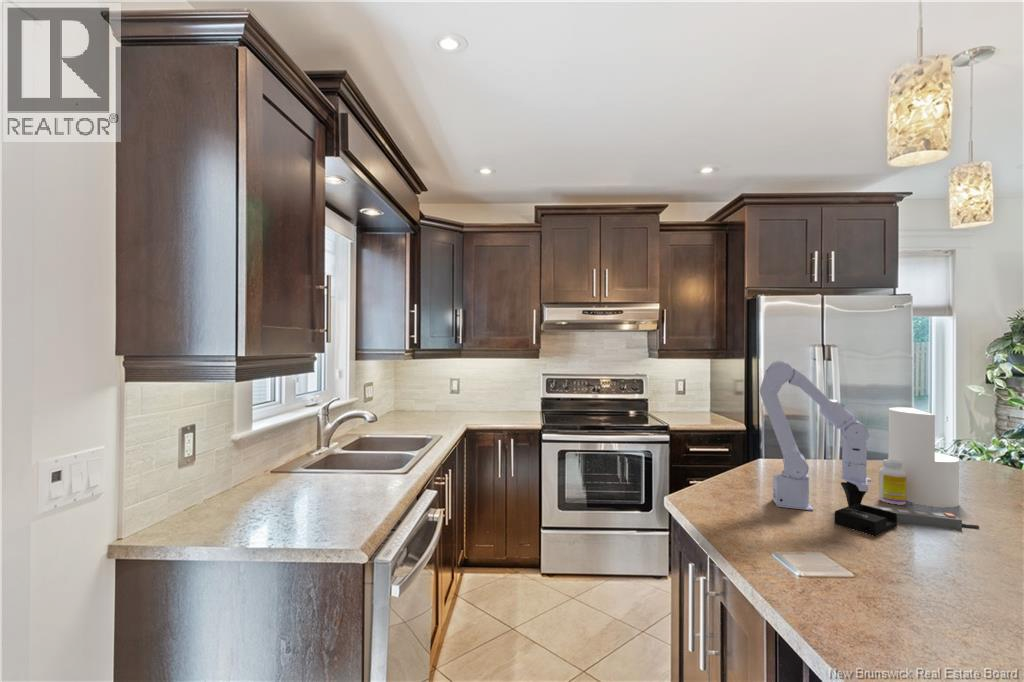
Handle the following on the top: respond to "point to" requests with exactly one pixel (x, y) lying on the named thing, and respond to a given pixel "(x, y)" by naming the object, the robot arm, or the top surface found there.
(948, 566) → the top surface
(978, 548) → the top surface
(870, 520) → the battery charger
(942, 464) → the white stepped block
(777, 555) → the top surface
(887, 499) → the supplement bottle
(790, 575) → the top surface
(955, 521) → the power strip
